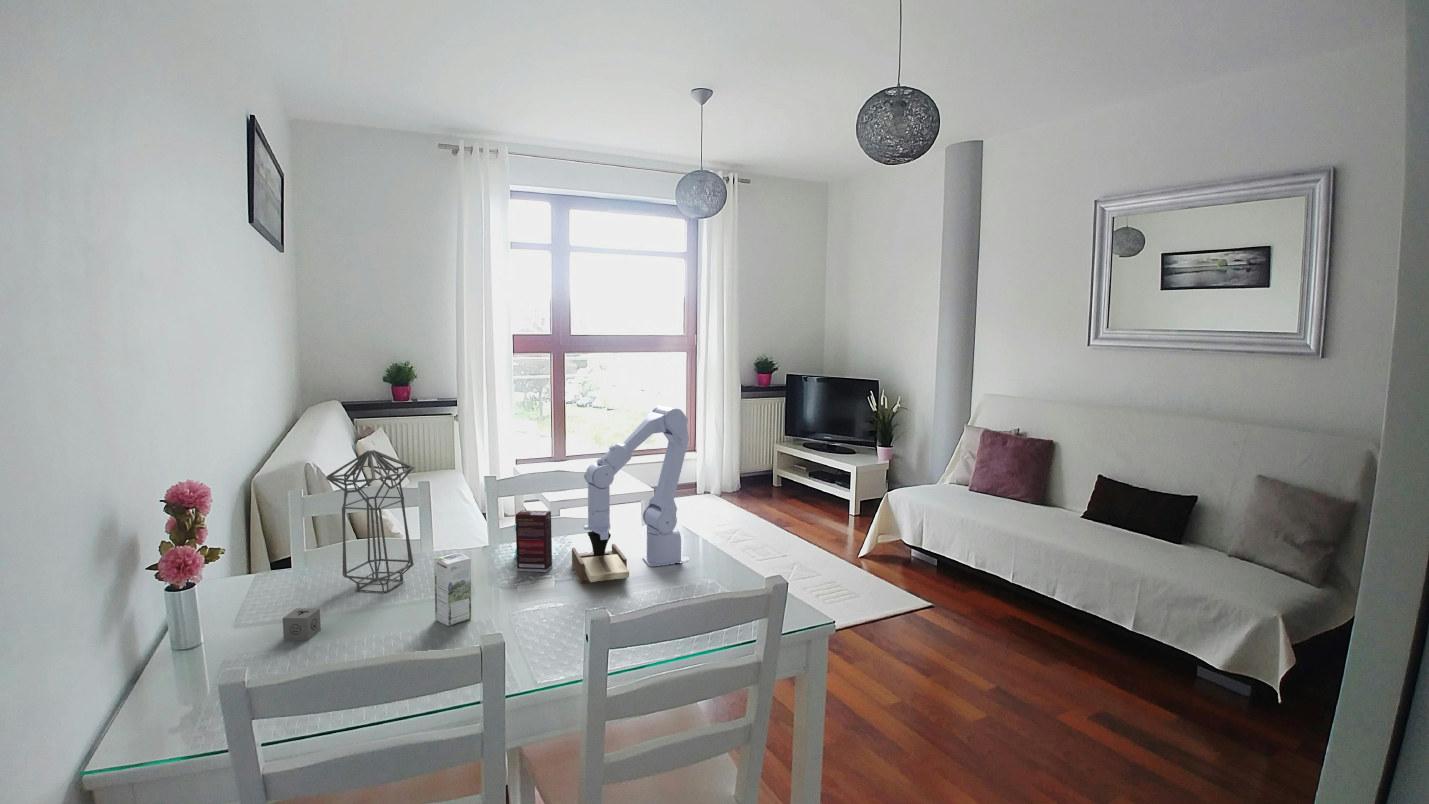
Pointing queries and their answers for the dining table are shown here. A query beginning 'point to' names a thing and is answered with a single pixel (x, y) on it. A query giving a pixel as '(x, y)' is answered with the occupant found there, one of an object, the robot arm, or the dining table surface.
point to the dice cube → (301, 624)
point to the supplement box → (533, 541)
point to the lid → (605, 568)
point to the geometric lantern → (356, 467)
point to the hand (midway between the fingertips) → (599, 558)
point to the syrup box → (452, 589)
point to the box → (578, 562)
